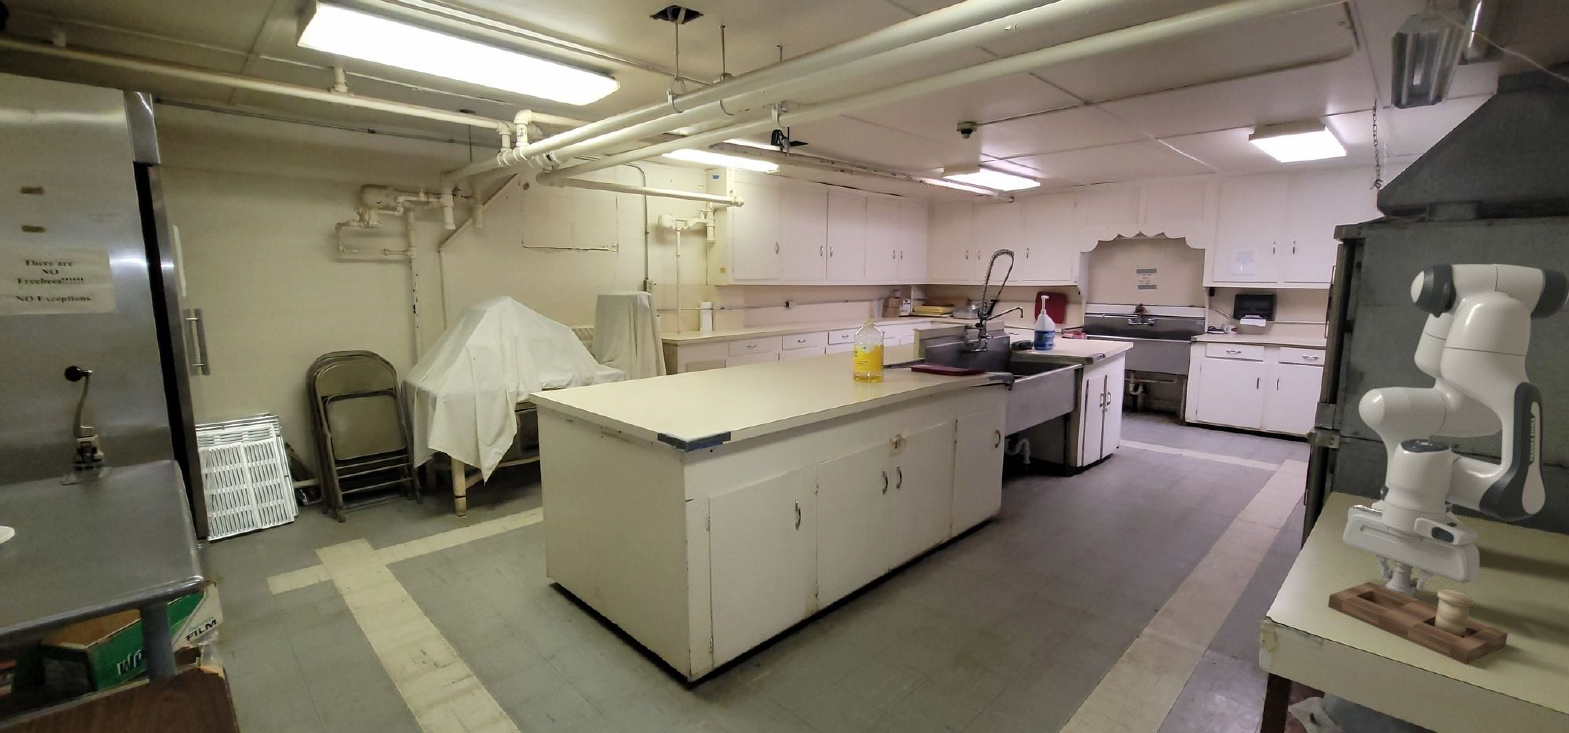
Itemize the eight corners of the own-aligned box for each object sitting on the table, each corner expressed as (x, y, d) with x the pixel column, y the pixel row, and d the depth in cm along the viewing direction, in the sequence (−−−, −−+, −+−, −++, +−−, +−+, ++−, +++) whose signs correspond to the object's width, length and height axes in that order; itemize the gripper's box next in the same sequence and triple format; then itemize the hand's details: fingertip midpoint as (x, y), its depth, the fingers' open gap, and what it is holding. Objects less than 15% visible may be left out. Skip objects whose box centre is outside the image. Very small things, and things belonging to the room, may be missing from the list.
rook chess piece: (1417, 603, 127) (1423, 565, 126) (1387, 597, 129) (1393, 560, 128) (1410, 593, 131) (1416, 557, 129) (1381, 587, 133) (1387, 552, 132)
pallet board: (1367, 592, 131) (1373, 554, 129) (1505, 645, 112) (1514, 601, 111) (1328, 606, 125) (1334, 566, 124) (1466, 664, 107) (1475, 617, 106)
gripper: (1341, 503, 136) (1332, 563, 138) (1473, 541, 117) (1460, 610, 119) (1358, 499, 138) (1349, 558, 140) (1489, 536, 119) (1476, 603, 122)
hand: (1401, 582), depth 129 cm, fingers open, 3 cm apart
